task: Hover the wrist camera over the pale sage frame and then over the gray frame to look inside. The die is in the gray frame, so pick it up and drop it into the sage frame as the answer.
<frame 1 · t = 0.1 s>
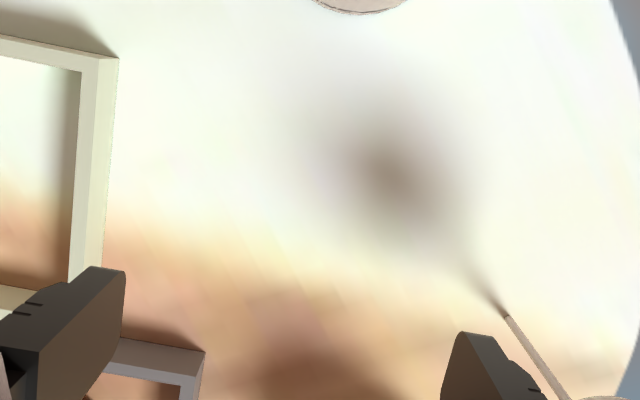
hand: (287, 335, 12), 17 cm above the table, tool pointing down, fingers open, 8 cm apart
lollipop: (507, 317, 31), on the table
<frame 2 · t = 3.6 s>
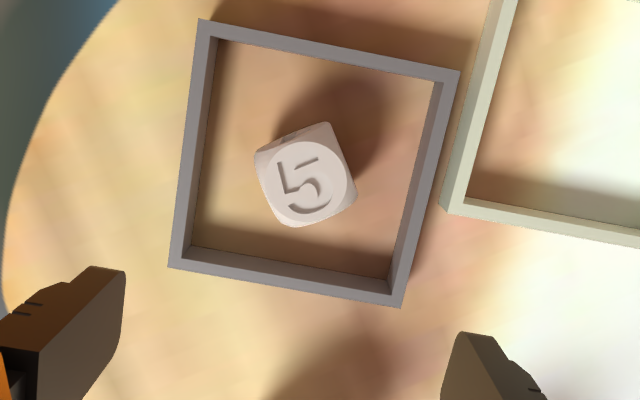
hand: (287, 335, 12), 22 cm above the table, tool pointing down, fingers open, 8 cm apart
sage frame: (583, 111, 32), on the table
gray frame: (307, 166, 33), on the table
die: (307, 166, 33), resting in gray frame
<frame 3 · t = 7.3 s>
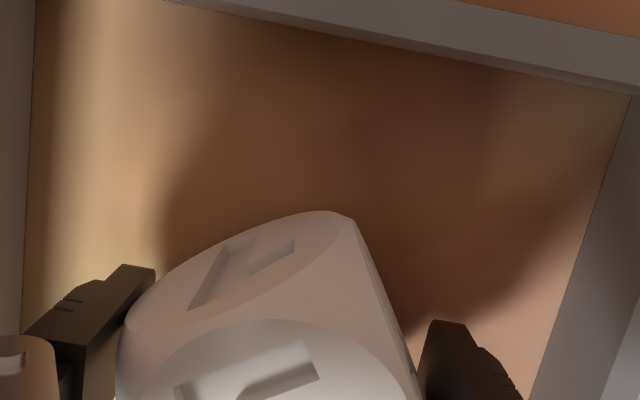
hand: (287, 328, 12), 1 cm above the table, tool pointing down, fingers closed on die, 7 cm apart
gray frame: (290, 309, 13), on the table
die: (291, 306, 13), resting in gray frame, touching gripper
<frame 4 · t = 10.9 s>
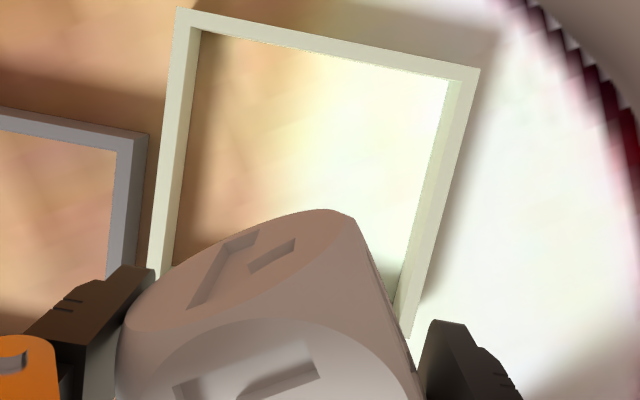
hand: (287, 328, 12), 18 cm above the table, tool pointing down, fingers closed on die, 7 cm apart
sage frame: (304, 177, 29), on the table
gray frame: (6, 236, 30), on the table
die: (292, 305, 13), point 16 cm above the table, touching gripper
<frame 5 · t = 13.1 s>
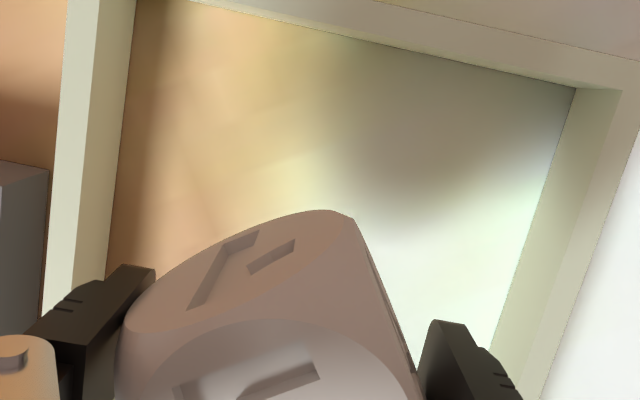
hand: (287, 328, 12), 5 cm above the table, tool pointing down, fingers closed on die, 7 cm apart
sage frame: (315, 247, 17), on the table
die: (291, 306, 13), point 4 cm above the table, touching gripper
when the fingers open (2 cm above the table, at t = 14.8 s): die drops 1 cm, resting in sage frame.
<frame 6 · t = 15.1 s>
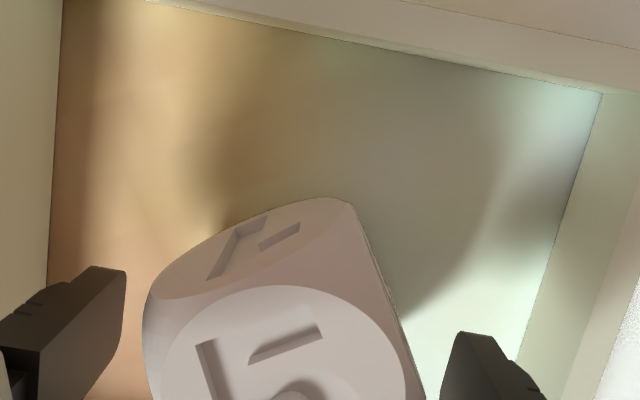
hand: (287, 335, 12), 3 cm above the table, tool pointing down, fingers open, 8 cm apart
sage frame: (292, 289, 14), on the table
die: (295, 286, 15), resting in sage frame
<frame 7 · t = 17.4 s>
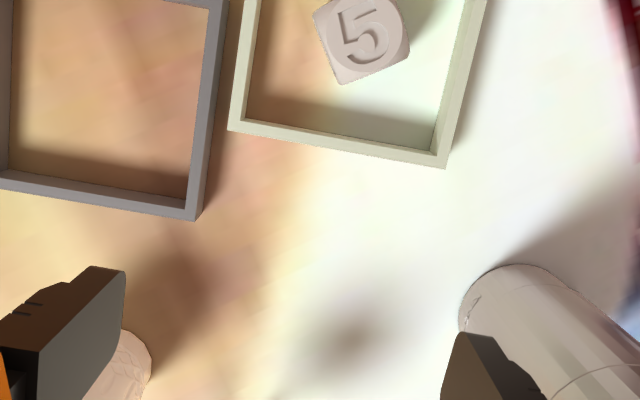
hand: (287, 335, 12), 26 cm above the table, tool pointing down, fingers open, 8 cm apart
sage frame: (356, 37, 35), on the table
gray frame: (108, 92, 36), on the table
white cup: (113, 360, 42), on the table
die: (357, 38, 36), resting in sage frame
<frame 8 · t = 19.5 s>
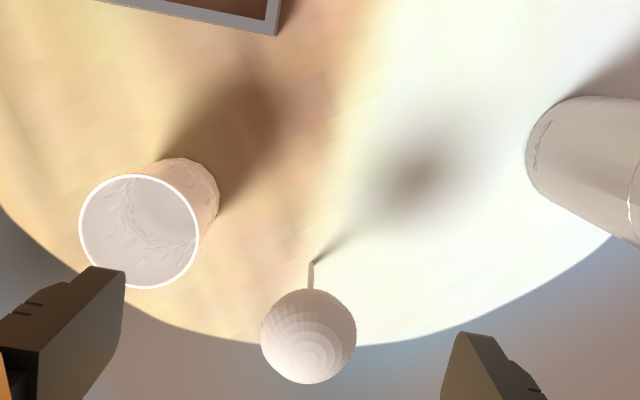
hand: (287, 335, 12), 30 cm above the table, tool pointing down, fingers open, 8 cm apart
white cup: (181, 195, 42), on the table
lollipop: (311, 263, 44), on the table
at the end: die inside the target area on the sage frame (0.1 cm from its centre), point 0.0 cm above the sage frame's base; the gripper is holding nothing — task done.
